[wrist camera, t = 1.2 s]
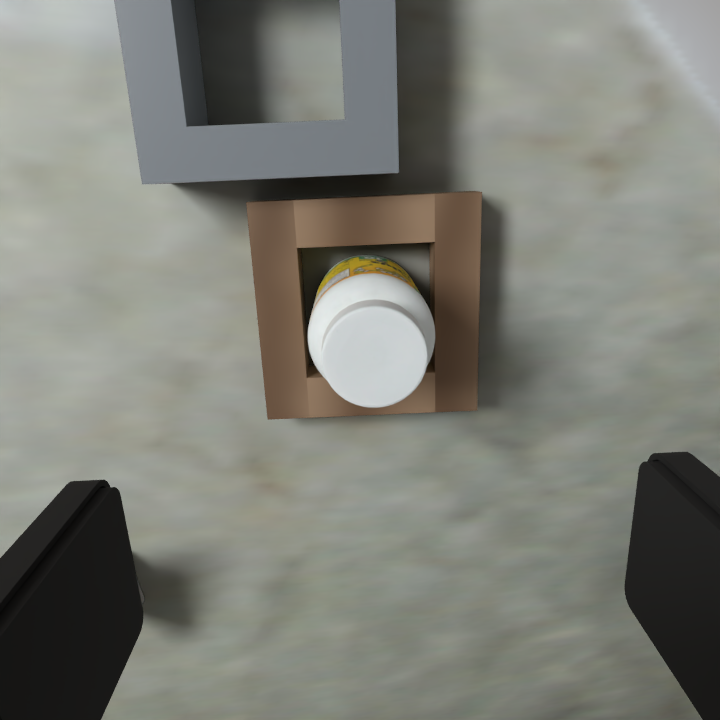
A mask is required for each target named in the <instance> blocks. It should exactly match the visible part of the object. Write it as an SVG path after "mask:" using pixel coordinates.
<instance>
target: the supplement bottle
mask: <svg viewBox="0 0 720 720" xmlns="http://www.w3.org/2000/svg"><path fill="white" fill-rule="evenodd" d="M434 344H435V326H434V321H433V317H432V314H431V312H430V309H429V307H428V305H427V304H426V302H425V300H424V299H423V297H422V295H421V294H420V292H419V290H418V289H417V287H416V286H415V284H414V282H413V281H412V279H411V277H410V276H409V275H408V273H407V272H406V271H405V270H404V269H403V268H402V267H401V266H399V265H398V264H397V263H395V262H394V261H392V260H390V259H387V258H385V257H381V256H375V255H356V256H352V257H349V258H346V259H344V260H342V261H340V262H339V263H337V264H336V265H335V266H334V267H332V268H331V269H330V270H329V271H328V273H327V274H326V275H325V277H324V278H323V280H322V282H321V284H320V286H319V288H318V291H317V294H316V298H315V302H314V306H313V309H312V313H311V317H310V321H309V326H308V346H309V351H310V354H311V357H312V360H313V362H314V364H315V366H316V368H317V369H318V371H319V372H320V373H321V375H322V376H323V377H324V378H325V379H326V380H327V381H328V383H329V384H330V386H331V387H332V388H333V390H334V391H335V392H336V393H337V394H338V395H340V396H341V397H342V398H344V399H345V400H347V401H348V402H350V403H353V404H355V405H359V406H363V407H369V408H379V407H386V406H390V405H393V404H395V403H397V402H400V401H401V400H403V399H405V398H406V397H407V396H409V395H410V394H411V393H412V392H413V391H414V390H415V389H416V388H417V386H418V385H419V384H420V382H421V381H422V378H423V376H424V374H425V371H426V368H427V365H428V363H429V361H430V359H431V356H432V353H433V350H434Z"/></svg>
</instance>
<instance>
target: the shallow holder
mask: <svg viewBox="0 0 720 720" xmlns="http://www.w3.org/2000/svg"><path fill="white" fill-rule="evenodd" d="M246 206H247V216H248V226H249V236H250V246H251V256H252V266H253V276H254V286H255V296H256V306H257V316H258V326H259V337H260V347H261V357H262V367H263V377H264V387H265V397H266V407H267V417H268V419H289V418H312V417H335V416H358V415H381V414H404V413H427V412H450V411H473V410H477V393H478V346H479V299H480V253H481V206H482V192H477V191H464V192H442V193H419V194H397V195H374V196H352V197H329V198H307V199H284V200H262V201H250V202H246ZM422 242H429V248H430V312H431V314H432V317H433V321H434V326H435V344H434V350H433V353H432V356H431V359H430V361H429V363H428V365H427V368H426V371H425V374H424V376H423V378H422V381H421V382H420V384H419V385H418V386H417V388H416V389H415V390H414V391H413V392H412V393H411V394H410V395H409V396H407V397H406V398H405V399H403V400H401V401H400V402H397V403H395V404H393V405H390V406H386V407H379V408H369V407H363V406H359V405H355V404H353V403H350V402H348V401H347V400H345V399H344V398H342V397H341V396H340V395H338V394H337V393H336V392H335V391H334V390H333V388H332V387H331V386H330V384H329V383H328V381H327V380H326V379H325V378H324V377H323V376H322V375H321V373H320V372H319V371H318V369H317V368H316V366H309V353H308V339H307V325H306V311H305V298H304V284H303V270H302V257H301V248H309V247H332V246H355V245H377V244H400V243H422Z"/></svg>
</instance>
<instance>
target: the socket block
mask: <svg viewBox="0 0 720 720" xmlns="http://www.w3.org/2000/svg"><path fill="white" fill-rule="evenodd" d="M114 2H115V8H116V15H117V22H118V28H119V35H120V42H121V48H122V55H123V61H124V68H125V75H126V81H127V88H128V94H129V101H130V108H131V114H132V121H133V127H134V134H135V141H136V147H137V154H138V160H139V167H140V174H141V180H142V184H171V183H193V182H216V181H238V180H261V179H283V178H306V177H328V176H351V175H373V174H394V173H399V154H398V106H397V57H396V9H395V0H339V4H340V25H341V47H342V68H343V90H344V111H345V120H324V121H301V122H279V123H256V124H234V125H212V126H209V124H208V116H207V107H206V98H205V89H204V81H203V72H202V63H201V54H200V46H199V37H198V28H197V19H196V10H195V2H194V0H114Z"/></svg>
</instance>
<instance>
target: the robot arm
mask: <svg viewBox="0 0 720 720" xmlns="http://www.w3.org/2000/svg"><path fill="white" fill-rule="evenodd" d="M625 595H626V599H627V602H628V605H629V607H630V609H631V610H632V612H633V613H634V615H635V616H636V618H637V619H638V621H639V623H640V624H641V626H642V627H643V629H644V630H645V632H646V633H647V635H648V636H649V638H650V639H651V641H652V642H653V644H654V646H655V647H656V649H657V650H658V652H659V653H660V655H661V656H662V658H663V659H664V661H665V662H666V664H667V665H668V667H669V669H670V670H671V672H672V673H673V675H674V676H675V678H676V679H677V681H678V682H679V684H680V685H681V687H682V688H683V690H684V692H685V693H686V695H687V696H688V698H689V699H690V701H691V702H692V704H693V705H694V707H695V708H696V710H697V712H698V713H699V715H700V716H701V718H702V719H703V720H720V477H719V476H718V475H717V474H715V473H714V472H713V471H712V470H710V469H709V468H708V467H707V466H706V465H704V464H703V463H702V462H701V461H699V460H698V459H697V458H696V457H694V456H693V455H692V454H690V453H688V452H671V453H654V454H652V455H651V456H650V458H649V459H648V462H643V463H641V465H640V468H639V473H638V481H637V489H636V497H635V505H634V513H633V522H632V530H631V538H630V546H629V554H628V562H627V570H626V579H625ZM142 624H143V607H142V602H141V597H140V592H139V587H138V582H137V577H136V572H135V566H134V561H133V556H132V551H131V546H130V541H129V536H128V531H127V526H126V521H125V516H124V511H123V505H122V500H121V496H120V492H119V490H118V489H117V488H116V487H112V488H110V485H109V484H108V482H107V481H105V480H89V481H72V482H70V483H68V484H67V485H66V486H65V487H64V488H63V489H62V491H61V492H60V493H59V494H58V495H57V496H56V497H55V498H54V499H53V501H52V502H51V503H50V504H49V505H48V506H47V507H46V508H45V509H44V510H43V512H42V513H41V514H40V515H39V516H38V517H37V518H36V519H35V520H34V522H33V523H32V524H31V525H30V526H29V527H28V528H27V529H26V530H25V531H24V533H23V534H22V535H21V536H20V537H19V538H18V539H17V540H16V541H15V543H14V544H13V545H12V546H11V547H10V548H9V549H8V550H7V551H6V552H5V554H4V555H3V556H2V557H1V558H0V720H101V718H102V716H103V714H104V712H105V709H106V707H107V705H108V703H109V701H110V698H111V696H112V694H113V692H114V689H115V687H116V685H117V683H118V681H119V678H120V676H121V674H122V672H123V670H124V667H125V665H126V663H127V661H128V659H129V656H130V654H131V652H132V650H133V647H134V645H135V643H136V641H137V639H138V636H139V634H140V632H141V628H142Z"/></svg>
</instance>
